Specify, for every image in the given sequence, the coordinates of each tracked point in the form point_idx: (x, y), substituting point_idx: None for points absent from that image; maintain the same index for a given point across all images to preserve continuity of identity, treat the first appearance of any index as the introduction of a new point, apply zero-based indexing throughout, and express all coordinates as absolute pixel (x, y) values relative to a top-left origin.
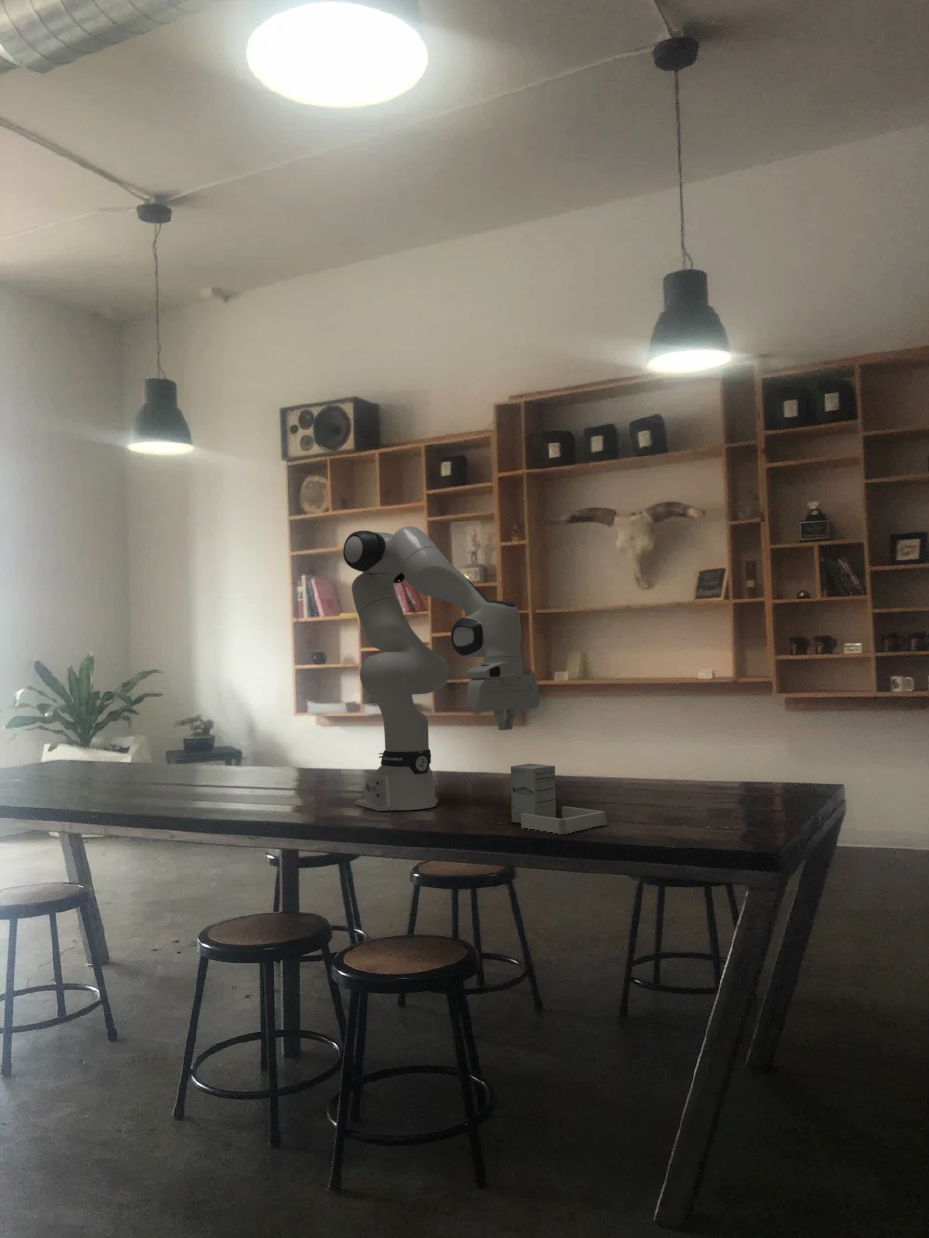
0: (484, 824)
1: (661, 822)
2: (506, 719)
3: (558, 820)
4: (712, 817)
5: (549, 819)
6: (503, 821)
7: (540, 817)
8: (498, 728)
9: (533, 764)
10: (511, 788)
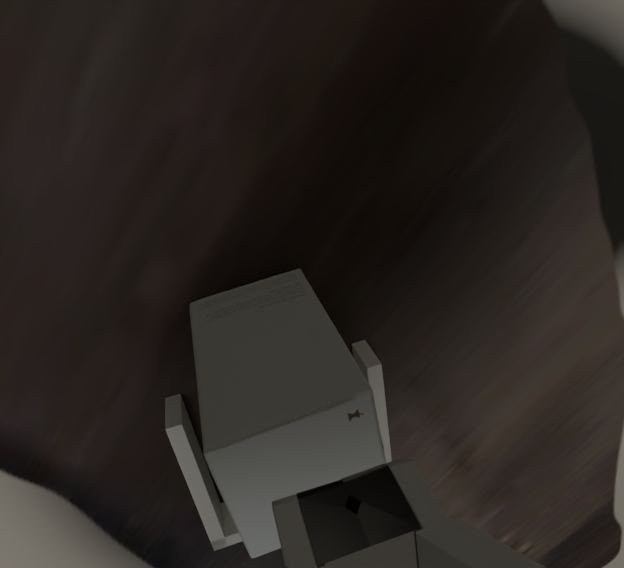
0: (79, 277)
1: (495, 470)
2: (442, 561)
3: (210, 538)
4: (603, 463)
5: (201, 514)
6: (179, 260)
7: (190, 491)
8: (272, 507)
9: (344, 445)
10: (197, 380)
